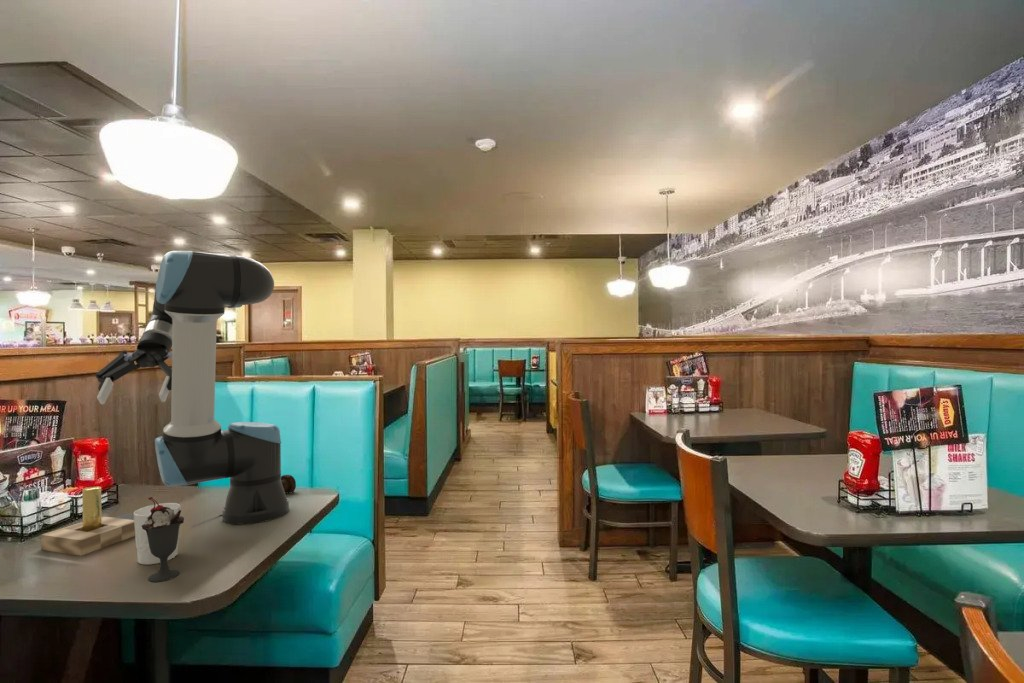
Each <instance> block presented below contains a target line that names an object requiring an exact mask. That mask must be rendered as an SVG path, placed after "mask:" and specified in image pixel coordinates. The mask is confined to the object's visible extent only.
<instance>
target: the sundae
mask: <svg viewBox="0 0 1024 683" xmlns="http://www.w3.org/2000/svg"><path fill="white" fill-rule="evenodd" d="M148 500H150V501H152V502H153V505H154V508H152V509H151V510H150V512H151V515H149V516H148V517H147V520H146V521H145V524H144V525H142V526H141V527H142V529H144V530H146V532H147V537H148V542H149V548H150V551H151V554H153V555H154V556H155V557H158V558H159V559H160V563H159V569H158V571H157V572H155V573H152V574H150V575H149V576H148V578H147V581H148V582H151V583H158V582H159V583H160V582H164V581H169V580H171V578H172V579H173V578H176V577H178V576H179V574H180V570H179V569H173V568H171V569H170V568H169V565H168V564H169V563H168V561H169V560H168V557H169V556H170V555H171V554H172V553H173V552H174V550H175V549H176V546H177V541H178V533H179V534H180V529H179V527H180V526H181V524H183V523H184V521H185V517H184V516H181V513H182V510H181V509H180V510H179V511H178V512H177V513H176V514H174V510H172V509H171V508H169V507H163V506H162V505H159V504H160V503H158V502H157V501H156V500H155V499H154V498H153V497H152V496H151V497H148ZM155 504H157V505H158V506H157V507H156V508H155ZM178 542H179V541H178ZM175 576H176V577H175Z"/></svg>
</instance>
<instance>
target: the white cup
mask: <svg viewBox="0 0 1024 683" xmlns="http://www.w3.org/2000/svg"><path fill="white" fill-rule="evenodd" d="M158 504H159V505H162V506H163V507H169V508H171V509H172V510H174V514H176V513H177V512H178V511H179V510H181V504H180V503H177V502H164V503H163V502H162V503H158ZM157 506H158V505H157V503H155V508H156V507H157ZM152 508H154V504H150V505H146V506H144V507H141V508H139V509H135V510H134V512H133V513H132V514H134V528H135V536H134V539H135V548H136V552H137V563H138V564H141V565H145V566H146V565H148V566H149V565H150V566H151V565H156V564H157V565H158V564H160V559H159V558H158V557H155V556H154V555H153V554H151V551H150V548H149V542H148V537H147V532H146V530H144V529H142V527H141V526H142V525H144V524H145V521H146V520H147V517H148V516H149V515H151V512H150V510H151V509H152ZM179 530H180V527H179ZM179 541H180V532H179V533H178V541H177V546H176V549H175V550H174V552H173V553H172V554H171V555H170V556H169V557H168V561H170V560H172V558H173V559H174V558H175V556H176V555H177V556H178V554H179V552H178V550H179ZM177 556H176V557H177Z"/></svg>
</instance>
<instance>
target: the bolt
mask: <svg viewBox="0 0 1024 683" xmlns="http://www.w3.org/2000/svg"><path fill="white" fill-rule="evenodd" d="M281 482H282V485H283V488H284V491H285V492H288V494H291V492H292V493H294V492H293V491H295V490H296V489H297V488H296V487H297V483H296V479H295V477H294V476H292V475H291V474H282V475H281Z"/></svg>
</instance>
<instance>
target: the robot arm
mask: <svg viewBox="0 0 1024 683" xmlns="http://www.w3.org/2000/svg"><path fill="white" fill-rule="evenodd" d="M274 288H275V279H274V277H273V274H272V273H271V271H270V270H269V268H267V267H266V266H265V265H264V264H263V263H261V262H260V261H256V260H255V259H254V258H250V257H246V256H243V255H235V254H234V255H233V254H232V255H231V254H222V253H214V252H213V253H211V252H202V251H201V252H200V251H192V250H171V251H168V252H166V253H165V254H164V256H163V257H162V259H161V261H160V265H159V269H158V274H157V279H156V283H155V286H154V296H153V297H154V298H153V300H154V301H153V305H152V312H151V315H150V317H149V320H148V322H147V324H146V326H145V328H144V331H143V333H142V335H141V336H140V339H139V342H138V343H137V346H136V350H135V351H134V352H128V351H127V350H126V349H125V350H121V352H120V353H119V354H118V355H117V357H115V358H114V359H113V360H111V361H110V362H108V364H106V365H105V366H104V367H103V368H102V369H100V370H98V371H97V372H96V373H95V374H94V375H95V376H94V377H95V378H96V379H97V381H98V383H99V384H98V387H97V388H98V390H99V392H98V393H97V396H96V399H97V401H98V402H99V404H100V405H105V404H106V401H107V400H108V398H109V396H110V394H111V391H112V390H113V387H114V383H113V382H115V381H117V380H118V379H120V378H122V377H124V376H125V375H127V374H128V373H129V374H130V373H131V372H132V371H136V370H138V369H140V368H143V369H144V368H155V367H157V366H158V367H159V369H160V370H162V371H163V372H164V374H165V375H166V376H165V378H164V380H163V382H162V385H161V388H160V391H159V392H158V397H159V400H160V401H161V403H165V402H166V401H167V398H168V396H169V393H170V391H171V408H170V409H171V410H170V411H171V414H170V420H171V421H169V423H168V424H166V425H165V426H164V427H163V429H162V436H161V435H160V436H158V437H156V438H154V450H155V454H156V460H157V465H158V470H159V474H160V478H161V480H162V484H164V485H165V486H167V487H179V486H189V485H193V484H199V483H205V482H211V481H217V480H221V479H222V480H223V479H229V488H228V492H227V496H226V499H225V503H224V504H225V505H224V506H223V508H222V512H221V513H222V521H223V522H224V523H226V524H232V525H246V524H247V525H248V524H250V525H251V524H256V523H262V522H268V521H271V520H275V519H277V518H280V517H282V516H284V515H286V514H287V513H288V512H289V511H290V501H289V499H288V497H287V495H286V493H285V491H284V488H283V485H282V482H281V476H282V465H281V464H282V459H281V458H282V456H281V454H282V452H281V449H282V448H281V447H282V446H281V444H282V441H281V440H282V439H281V431H280V428H279V427H278V425H276V424H272V423H268V422H258V421H257V422H254V421H238V422H231V423H229V425H228V427H227V429H223V430H222V424H221V423H220V422H219V421H217V420H216V419H215V403H216V402H215V401H216V399H215V398H216V396H215V395H216V364H217V362H216V360H217V359H216V358H217V325H218V324H217V322H218V321H219V320H218V319H220V318H221V317H222V316H223V315H224V314H225V309H226V308H227V309H234V308H239V309H240V308H241V307H243V306H246V305H254V304H259V303H262V302H264V301H266V300H267V299H269V297H271V295H272V294H273V292H274ZM169 358H170V359H171V367H170V366H169V365H168V364H167V363H166V360H168V359H169Z"/></svg>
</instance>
